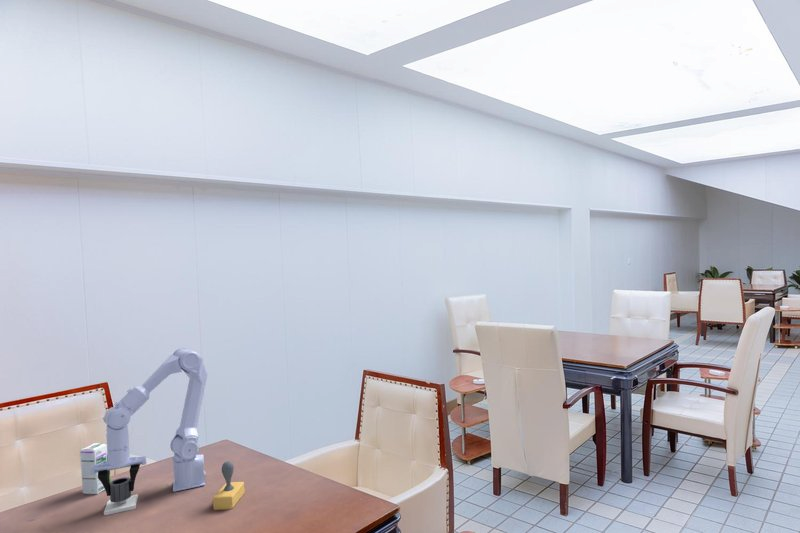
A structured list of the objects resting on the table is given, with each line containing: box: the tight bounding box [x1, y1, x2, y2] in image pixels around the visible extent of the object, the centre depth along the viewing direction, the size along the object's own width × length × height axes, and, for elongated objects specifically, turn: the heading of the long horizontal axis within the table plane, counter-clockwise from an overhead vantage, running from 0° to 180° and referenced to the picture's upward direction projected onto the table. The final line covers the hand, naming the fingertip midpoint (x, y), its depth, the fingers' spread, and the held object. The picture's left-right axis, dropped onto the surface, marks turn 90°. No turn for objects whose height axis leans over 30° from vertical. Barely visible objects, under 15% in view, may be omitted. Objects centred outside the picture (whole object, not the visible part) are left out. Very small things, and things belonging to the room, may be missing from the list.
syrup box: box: [79, 442, 112, 495], centre depth 159 cm, size 6×6×14 cm
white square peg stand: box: [103, 494, 139, 516], centre depth 147 cm, size 8×8×5 cm
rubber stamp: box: [212, 460, 246, 511], centre depth 147 cm, size 10×6×12 cm, turn 177°
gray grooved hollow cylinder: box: [109, 476, 132, 502], centre depth 147 cm, size 5×5×5 cm
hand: (120, 492), depth 147 cm, fingers closed on gray grooved hollow cylinder, 6 cm apart
